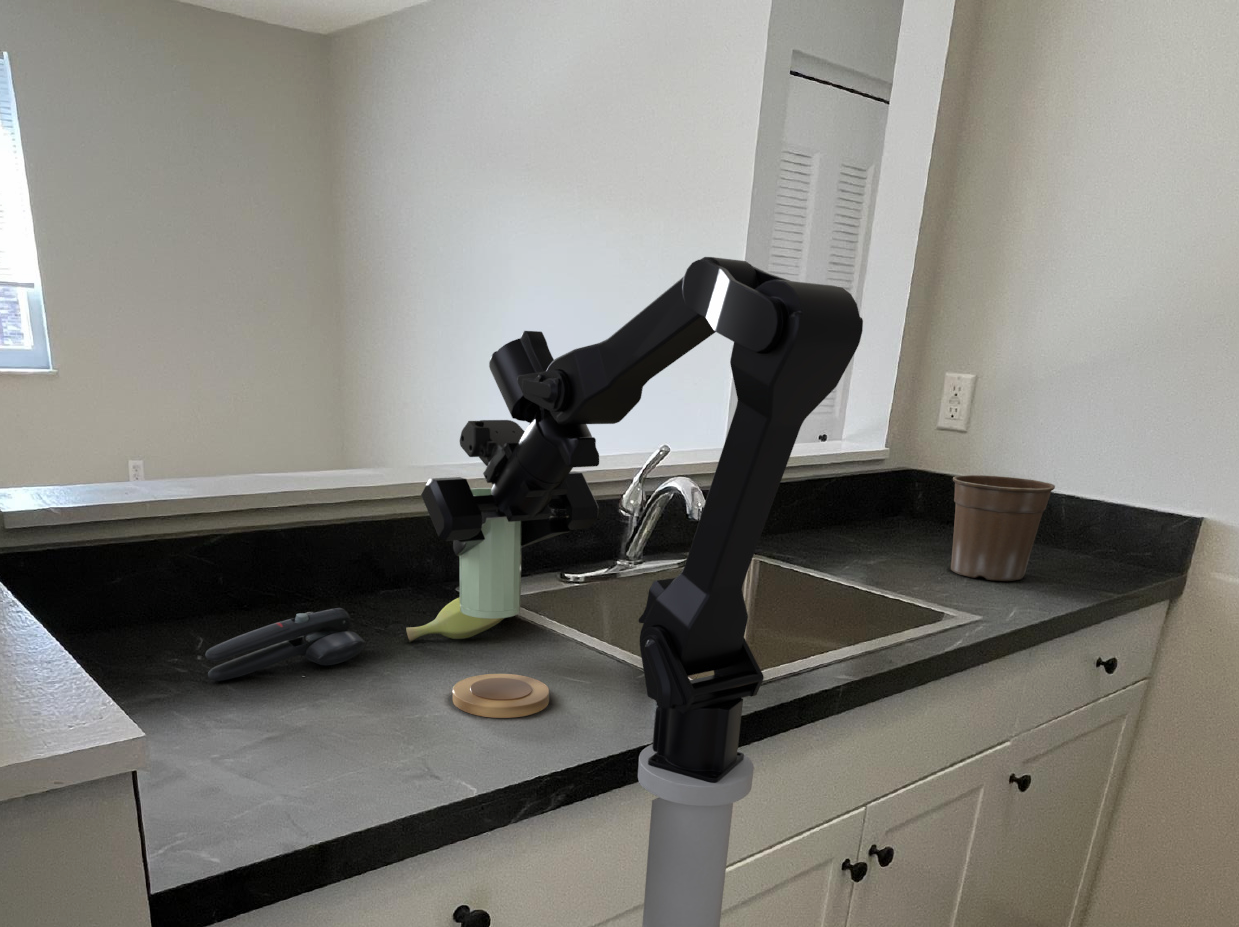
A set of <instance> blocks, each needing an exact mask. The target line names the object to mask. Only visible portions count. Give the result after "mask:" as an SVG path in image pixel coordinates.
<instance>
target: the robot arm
mask: <svg viewBox="0 0 1239 927" xmlns="http://www.w3.org/2000/svg"><path fill="white" fill-rule="evenodd" d="M863 328H864V320H863V318H862V317H861V315H860V311H859V307H858V304H857V302H856V300H855V299H854V296H853V295H852V293H850V292H849V291H848V290H847V289H845V288H844V287H841V286H837V285H832V284H823V283H814V282H813V283H811V282H803V281H795V280H789V279H786V278H784V277H781V276H778V275H775V274H772V273H769V272H766V271H764V270H762V269H760V268H759V267H758V268H757V267H756V266H754V265H752V264H751V263H750V262H748V261H746V260H740V259H732V258H723V257H714V256H704V257H702V258H700V259H697V260H695V261H693V262H691V264H690V265H689V266H688V268H686V270H685V273H684V275H683V276H682V277H681V278H679V279H678V280H677V281H676V282H675V283H673V285H672V286H670V287H669V288H668V289H667V290H665V291H664V292H663V293H661V294H660V295H659V296H658V297H656V298H655V299H654V300H653V301H652V302H650V303H649V304H648V305H647V306H645V308H643V309H642V310H641V311H640V312H638V313H637V314H636V315H635V316H634V317H632V318H631V319H630V320H629V321H628V322H626V323H625V324H624V325H623V326H622V327H620V328H619V329H618V330H616V331H615V332H614V333H613V334H611V335H610V336H609V337H608V338H606V339H604V340H602V341H600V342H597V343H594V344H589V345H586V346H582V347H577V348H574V349H572V350H570V351H568V352H566V353H564V354H562V355H560V356H558V357H555V359H554V357H553V355H552V352H551V351H550V349H549V345H548V342H547V339H546V337H545V335H544V333H543V331H537V330H523V331H522V334H521V336H520V337H519V338H517V339H516V338H515V339H514V340H513V339H512V340H511V341H508V342H507V343H505V344H503V346H501V347H500V348H499V349H498V350H496V351H494V352H493V353H492V355H491V356H490V358H489V361H488V367H489V370H490V373H491V374H492V377H493V379H494V382H495V383H496V385H497V388H498V390H499V392H500V394H501V396H502V399H503V401H504V403H505V405H506V407H507V409H508V412H509V414H510V416H511V418H512V419H515V420H516V421H520V422H526V423H529V424H528V426H527V427H526V429H525V430H524V429H523V428H522V426H520V425H519V423H517V422H516V421H513V420H512V419H511V420H510V419H481V420H468V421H467V422H466V424H465V425H464V427H463V428H462V429H461V432H460V436H459V446H460V447H461V449H462V450H463V451H464V452H465V454H467V456H468V458H479V459H480V460H481V461H482V463H483V464H484V465H485V469H484V471H483V472H482V474H483V477H484V479H485V481H486V484H491V485H492V486H491V488H492V489H491V494H492V495H481V496H473V493H472V491H471V487H470V485H469V482H468V479H467V478H465V477H462V476H453V477H435V478H433V477H431V478H429V479H428V481H427V483H426V484H425V487H424V488H423V490H422V492H421V494H420V497H421V499H422V501H423V503H424V506H425V508H426V510H427V513H428V516H429V517H430V520H431V522H432V525H433V527H434V529H435V532H436V534H437V537H438V538H439V539H440V540H443V541H444V542H452V548H453V552H454V555H455V556H456V557H459V556H460V555H462V554H464V553H466V552H467V551H469V550H470V549H472V548H473V547H475V546H476V545H478V544H479V543H481V542H482V541H484V540H485V537H484V535H483V532H482V530H481V528H482V526H483V525H484V524H485V522H486V520H491V519H504V518H507V519H508V522H514V521H522V546H521V549H522V548H525V547H527V546H530V545H534V544H535V543H539V542H541V541H544V540H548V539H551V538H553V537H556V536H559V535H563V534H569V533H570V532H571V531H572V530H573V531H575V530H583V529H590V528H591V527H592V526H593V524H594V523H595V522H596V521H597V519H598V517H599V510H600V509H599V505H598V503H597V500H596V498H595V496H594V495H593V492H592V490H591V488H590V486H589V483H588V481H587V480H586V477H585V476H584V474H583V473H582V472H580V471H575V470H573V469H574V468H593V467H599V465H600V454H599V451H598V449H597V445H596V444H597V439H596V438H595V436H593V435H592V433H591V431H590V428H589V426H588V425H614V424H618V423H620V422H621V421H622V420H624V419H625V417H626V416H627V415H628V414H629V413H630V412H631V411H632V410H633V409H634V408H635V407H636V406H637V405H638V404H639V402H640V401H641V399H642V396H643V389H644V387H645V386H646V384H647V383H649V381H650V380H651V379H653V378H654V377H656V376H657V375H658V374H660V373H661V372H662V371H664V370H665V369H666V368H668V367H669V366H671V365H672V364H674V363H675V362H676V361H678V360H679V359H681V358H682V357H683V356H685V355H686V354H688V353H689V352H690V351H691V350H693V349H695V348H696V347H697V346H699V345H700V344H702V343H703V342H704V341H706V340H707V339H708V338H710V337H711V336H712V335H714V334H718V335H721V336H722V337H724V338H726V339H728V340H730V341H732V342H733V344H732V348H731V354H730V359H729V360H730V361H729V364H730V368H731V369H730V370H731V373H732V379H733V384H734V389H735V393H736V398H737V401H736V406H735V411H734V413H733V416H732V419H731V422H730V425H729V428H728V432H727V434H726V438H725V440H724V444H723V447H722V449H721V453H720V456H719V459H718V462H717V466H716V468H715V470H714V475H713V477H712V481H711V484H710V487H709V490H708V493H707V496H706V500H705V502H704V504H703V509H702V512H701V514H700V518H699V521H698V523H697V527H696V530H695V533H694V536H693V539H692V543H691V545H690V548H689V552H688V555H687V557H686V559H685V563H684V566H683V569H682V571H681V572H680V573H679V574H678V575H677V576H675V577H671V578H663V579H656V580H653V582H652V584H651V586H650V588H648V589H649V590H648V593H647V594H648V595H647V600H646V601H647V602H646V604H645V607H644V610H643V612H642V614H641V615H640V617H639V618H638V623H639V624H642V626H641V629H640V633H639V650H640V657H641V662H642V669H643V675H644V676H643V677H644V682H645V688H646V695H647V697H648V698H649V699H651V700H654V701H655V703H656V704H655V706H656V707H655V710H654V720H653V721H654V722H653V723H654V724H653V734H652V735H653V736H652V744H653V747H652V748H653V751H654V752H657V753H655V754H654V755H653V756H651V757H650V758H649V759H648V765H650V766H653V767H656V768H660V769H664V770H667V771H671V772H674V773H678V774H681V775H685V776H688V777H692V778H695V779H699V780H702V781H706V782H709V783H717V782H718V781H720V780H721V779H722V778H723V777H724V776H725V775H726V774H728V773H729V772H730V771H731V770H732V769H733V768H734V767H736V766H737V765H738V764H739V763H740V762H741V761H742V760H743V759H744V754H745V753H744V754H743V752H742V751H740V752H737V751H738V750H739V742H740V741H739V740H740V732H741V723H742V715H743V714H742V713H743V703H744V698H747V697H751V698H752V697H755V696H757V695H758V693H759V691H760V688H761V686H762V684H763V681H764V678H765V677H764V674H763V671H762V670H761V668H760V665H759V664H758V661H757V660H756V658H755V656H754V654H753V652H752V650H751V648H750V647H749V643H748V642H747V640H746V638H745V635H746V629H747V626H748V621H749V614H748V610H747V605H746V601H745V597H744V593H743V585H744V582H745V580H746V577H747V575H748V571H749V569H750V567H751V563H752V561H753V558H754V556H755V555H754V554H755V553H756V550H757V548H758V544H759V542H760V539H761V536H762V534H763V531H764V529H765V526H766V523H767V521H768V517H769V515H770V512H771V510H772V506H773V503H774V501H775V498H776V495H777V493H778V490H779V487H780V484H781V482H782V479H783V476H784V473H785V471H786V467H787V465H788V463H789V460H790V458H791V454H792V452H793V449H794V446H795V444H796V441H797V439H798V435H799V433H800V431H801V428H802V426H803V424H804V422H805V420H806V418H807V417H808V416H810V415H811V413H813V412H814V410H815V409H816V408H817V407H819V405H820V404H822V402H823V401H825V399H826V398H827V397H828V396H829V395H830V394H831V393H832V392H833V391H834V390H835V389H836V387H837V386H838V385H839V382H840V381H841V380H842V377H843V375H844V373H845V372H846V370H847V368H848V366H849V364H850V363H851V361H852V359H853V357H854V355H855V353H856V352H857V350H858V347H859V345H860V342H861V339H862V334H863V330H864V329H863ZM572 470H573V471H572ZM709 672H713V674H711V675H708V676H702V677H698V678H694V679H690V676H694V675H701V674H704V673H709ZM741 752H742V753H741Z"/></svg>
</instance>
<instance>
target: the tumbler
mask: <svg viewBox="0 0 1239 927" xmlns="http://www.w3.org/2000/svg"><path fill="white" fill-rule="evenodd" d="M470 489H471V491H472V493H473V496H481V495H492V494H491V489H492V487H475V488H474V487H472V488H471V487H470ZM481 530H482V532H483V535H484V537H485V540H484V541H482V542H481V543H479V544H478V545H476V546H475V547H473V548H472V549H470V550H469V551H467V552H466V553H464V554H462V555H460V556H458V557H459V597H460V611H461V612H462V613H463V614H465V615H468V616H472V617H477V618H488V619H495V618H504V619H507V618H512V617H514V616H516V615H518V614H520V612H521V601H522V600H521V598H522V595H521V594H522V593H521V590H522V548H521V546H522V521H514V522H508V519H507V518H504V519H491V520H486V522H485V524H484V525H483V526H482V528H481Z"/></svg>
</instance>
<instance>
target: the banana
mask: <svg viewBox="0 0 1239 927" xmlns="http://www.w3.org/2000/svg"><path fill="white" fill-rule="evenodd" d="M504 619H505V618H495V619H488V618H477V617H472V616H468V615H465V614H463V613H462V612H461V611H460V596H459V597H457V598H455V599H453V600H452V601H450V602H449V603H447V604H446V605H445V606H443V607H442V609H441V610H440V611H439V612H438V614H437V616H436V617H435V619H433V620H432V621H430V622H428V623H426V624H424V625H420V626H414V627H411V626H410V627H409V626H407V627H406V630H405V631H406V634H407V638H408V640H409V642H413V641H414V640H416V639H418V638H420V637H422V636H426V635H433V634H434V635H435V634H437V635H441V636H443V637H445V638H449V639H451V640H452V639H453V640H462V639H464V640H465V639H468V638H472V637H474V636H476V635H479V634H481V633H483V632H485V631H487V630H489V629H491V628H493V627H495V626H496V625H498V624H499V623H501V622H502V621H503V620H504Z"/></svg>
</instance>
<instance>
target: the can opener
mask: <svg viewBox="0 0 1239 927" xmlns="http://www.w3.org/2000/svg"><path fill="white" fill-rule="evenodd" d="M351 620H352V619H351V616H350V614H349V613H348V611H347V610H346V609H344V608H341V607H336V608H329V609H326V610H320V611H317V612H314V611H307V612H305V613H296V615H295V617H293V618H289V619H285V620H282V621H277V622H275V623H271V624H268V625H265V626H262V627H260V628H257V629H254V630H251V631H248V632H246V633H243V634H239V635H237V636H234V637H233V638H230V639H227V640H226V641H223V642H220V643H219V644H216V645H214V646H212V647H210V648H208V649H207V650H206V652H205V654H204V656H205V658H206V659H207V660H208V661H210V662H211V661H212V662H220V661H224V660H227V659H229V658H233V657H236V656H239V655H241V654H244V655H242V656H239V657H236V658H233V659H231V660H228V661H226V662H223V663H221V664H218V665H216V666H213V667H212V668H211V669H210V670H209V671H208V673H207V676H208V678H209V679H210V680H213V681H215V682H223V681H229V680H233V679H236V678H241V677H244V676H247V675H250V674H252V673H255V672H258V671H261V670H263V669H265V668H268V667H271V666H272V665H275V664H277V663H279V662H282V661H285V660H287V659H290V658H292V657H297V656H305V659H306V660H308V661H310V662H313V663H315V664H317V665H320V666H333V665H337V664H341V663H344V662H346V661H347V662H348V661H350V660H351V659H353V658H355V657H357V656H358V655H359V654H361V653H362V652H363V651H364V650H365V648H366V646H367V644H366V641H365V640H364V639H363V638H362V637H361V636H360V635H359V634H358V633H357V632H354V631H351V630H350V627H351V623H352V621H351ZM252 651H253V652H252ZM249 652H250V653H249ZM245 653H246V654H245Z"/></svg>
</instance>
